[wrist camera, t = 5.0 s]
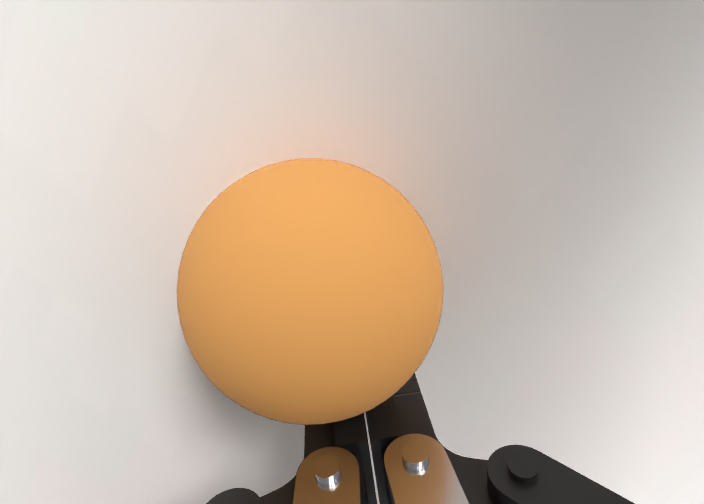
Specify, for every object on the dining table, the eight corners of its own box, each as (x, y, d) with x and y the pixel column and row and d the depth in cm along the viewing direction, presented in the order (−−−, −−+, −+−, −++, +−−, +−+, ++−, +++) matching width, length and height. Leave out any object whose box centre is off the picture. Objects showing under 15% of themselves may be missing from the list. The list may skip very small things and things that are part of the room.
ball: (182, 232, 12) (56, 235, 7) (360, 140, 12) (381, 68, 7) (276, 406, 13) (230, 545, 7) (450, 316, 13) (538, 383, 7)
